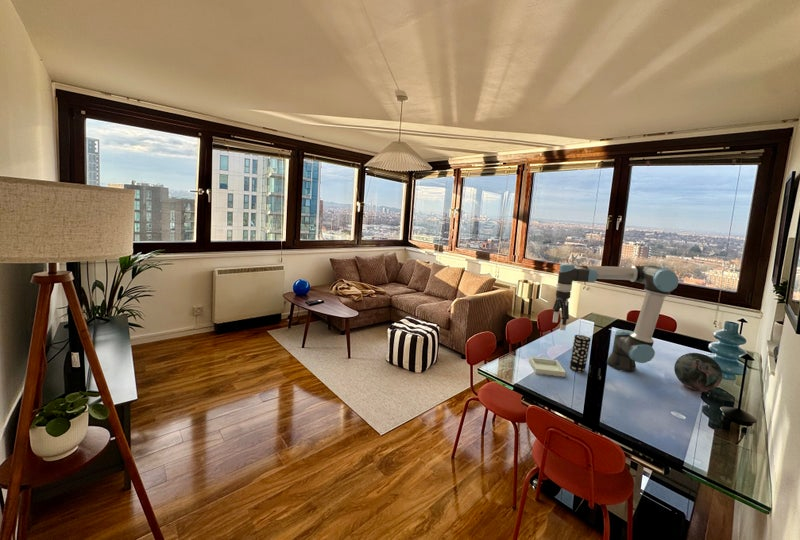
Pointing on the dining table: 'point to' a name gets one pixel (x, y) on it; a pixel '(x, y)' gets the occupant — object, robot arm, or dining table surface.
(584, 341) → the spotted tube
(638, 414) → the dining table surface
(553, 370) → the tray
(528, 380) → the dining table surface
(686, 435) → the dining table surface
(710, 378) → the decorative sphere
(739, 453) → the dining table surface
